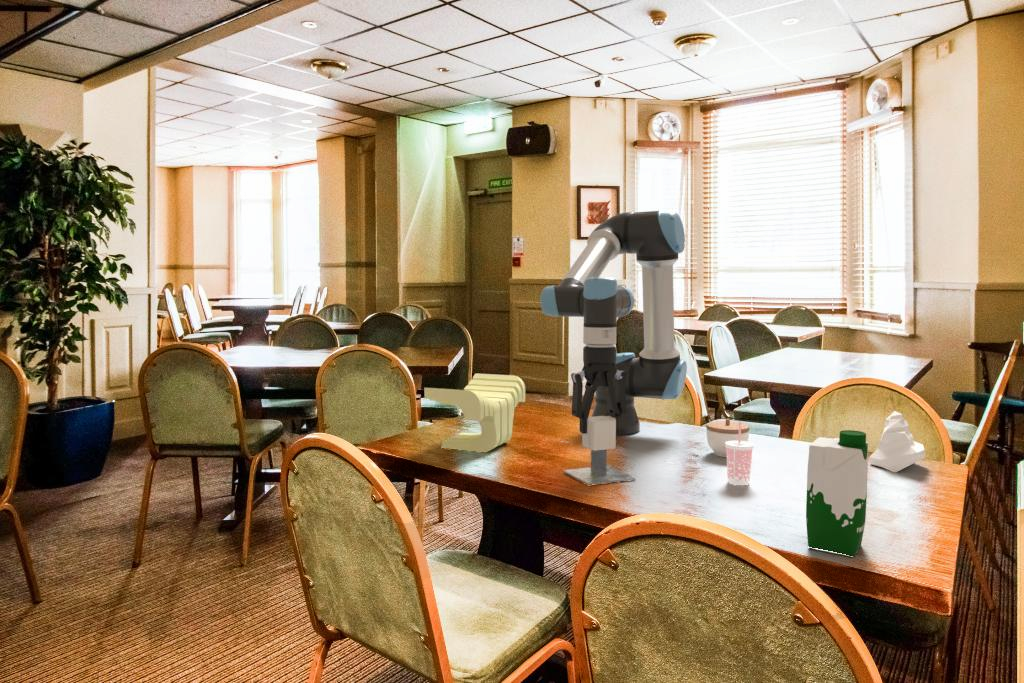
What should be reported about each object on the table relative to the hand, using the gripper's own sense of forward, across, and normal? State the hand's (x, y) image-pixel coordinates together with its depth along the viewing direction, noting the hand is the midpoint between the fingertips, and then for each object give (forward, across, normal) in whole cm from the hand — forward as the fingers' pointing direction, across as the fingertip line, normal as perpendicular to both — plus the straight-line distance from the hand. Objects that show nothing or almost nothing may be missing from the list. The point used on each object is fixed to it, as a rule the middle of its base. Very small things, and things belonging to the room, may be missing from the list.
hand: (598, 445), depth 165 cm
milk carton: (+8, +15, -54) cm, 56 cm away
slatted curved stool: (+7, -15, +40) cm, 43 cm away
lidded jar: (+7, +41, +5) cm, 42 cm away
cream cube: (0, 0, 0) cm, 0 cm away
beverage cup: (+7, +26, -17) cm, 32 cm away
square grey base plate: (+7, 0, 0) cm, 7 cm away
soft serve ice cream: (+7, +71, -21) cm, 74 cm away
